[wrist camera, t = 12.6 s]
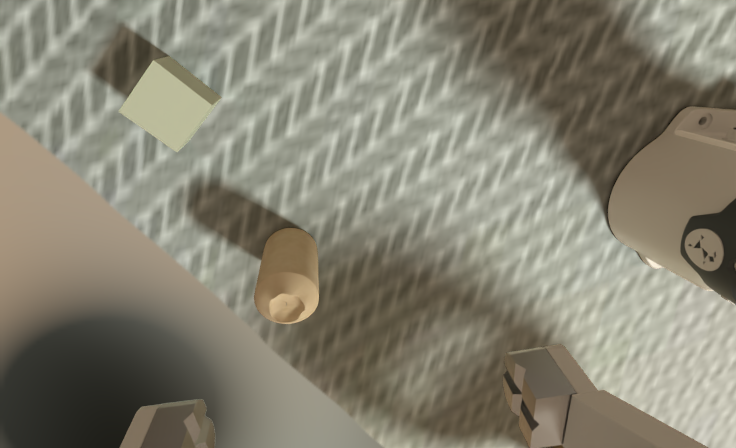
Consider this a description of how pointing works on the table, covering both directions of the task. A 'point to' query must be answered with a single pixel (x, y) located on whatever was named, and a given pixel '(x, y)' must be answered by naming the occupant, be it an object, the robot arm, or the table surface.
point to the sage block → (169, 102)
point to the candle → (288, 277)
